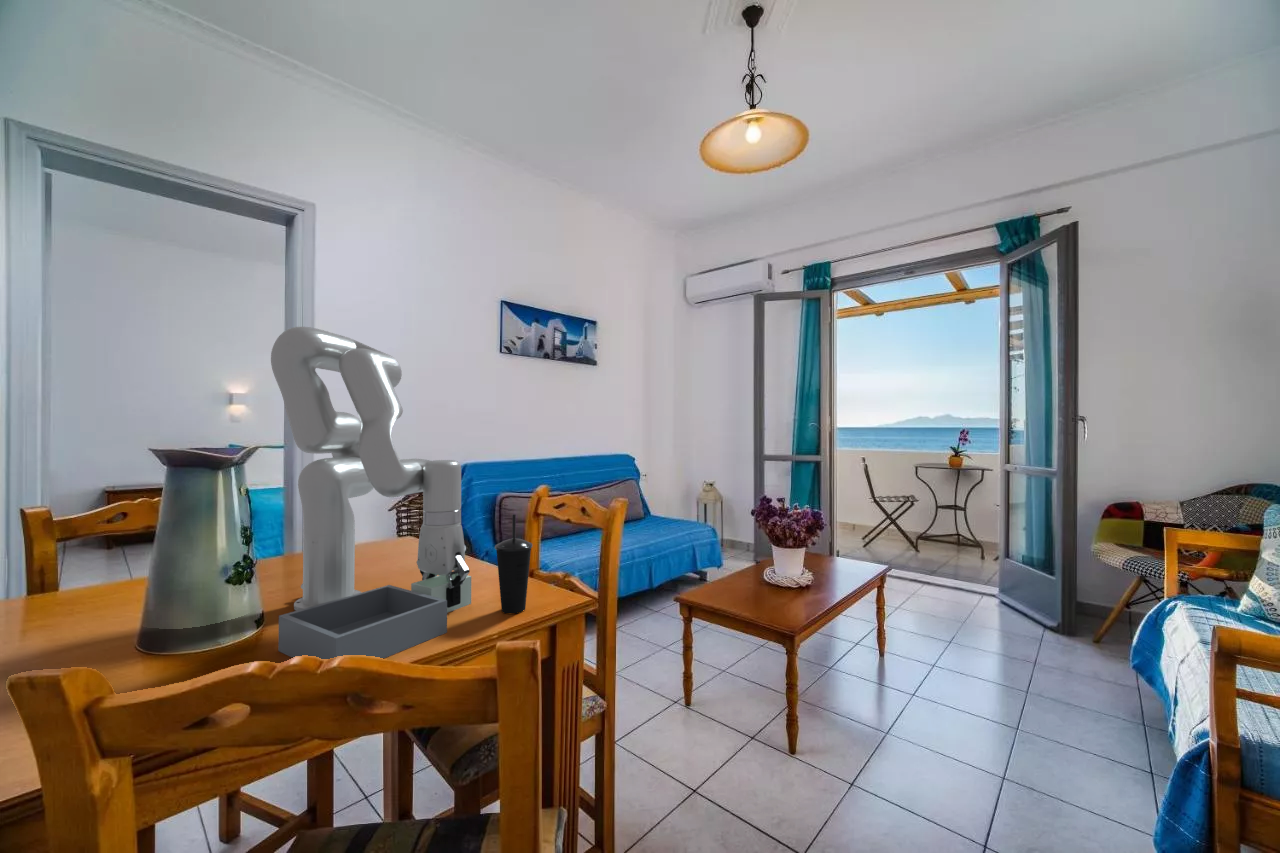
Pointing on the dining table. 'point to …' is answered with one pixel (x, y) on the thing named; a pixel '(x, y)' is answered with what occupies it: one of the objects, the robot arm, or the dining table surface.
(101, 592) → the dining table surface
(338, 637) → the big crate
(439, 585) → the block
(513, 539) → the drinking cup
